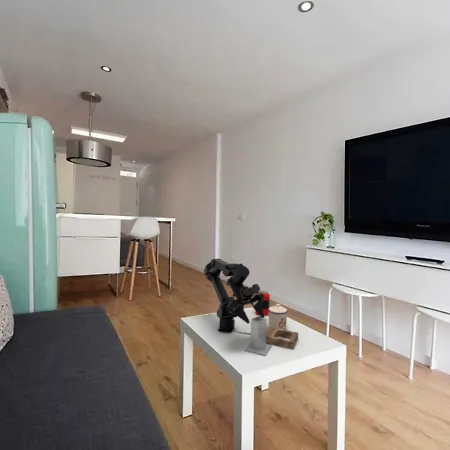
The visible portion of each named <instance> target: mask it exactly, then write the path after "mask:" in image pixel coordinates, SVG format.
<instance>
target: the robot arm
mask: <svg viewBox="0 0 450 450" xmlns="http://www.w3.org/2000/svg"><path fill="white" fill-rule="evenodd" d="M221 273H222V275H223V276H224V277H225V278H227V277H228V279H227V280H226V286H229V287H230V289H231V292H232V293H233V294H232V296H229V293H228V292H227V290H226V288H225V286H224V284H223V282H222V279H221V278H220V276H221ZM203 275H204V277H205V278H206V279H207V281H209V282H211V285H212V286H213V289H214V291H215V293H216V297H217V298H218V300H219V305H218V309H217V310H216V317H217V318H218V319H219V328H218V329H217V331H218V332H223V333H230V334H232V332H233V331H234V330H235V328H236V320H235V318H237V317H238V318H239V319H240V320H242V321H243V322H244V323H246V324H247V325H248V324H251V321H250V318H249V317H248V315H247V314H246V313H247V312H246V311H245V310H244V309H245V307H244V306H247V305H250V304H251V306H252V309H253V310H254V311H256V312H257V313H258V314H259V315H260V317H263V318H265V316H264V312H263V307H262V303H263V301H264V298H265V297H264V295H263V294H262V293H260V294H258V293H259V291H261V287H260V285H259V284H258V283H254V284H252V286H250V287H249V286H247V285H244V282H245V281H246V280H247V279H248V276H249V275H250V269H249V268H248V267H247V266H246V265H245V266H244V265H243V263H231V262H230V263H229V262H227V261H225V260H223V259H221V258H213V259H211V260H210V261H209V262H208V263H207V264H206V265H205V267H204V269H203ZM235 298H236V299H235ZM259 315H258V316H259Z"/></svg>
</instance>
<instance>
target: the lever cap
mask: <svg viewBox="0 0 450 450" xmlns="http://www.w3.org/2000/svg"><path fill="white" fill-rule="evenodd" d="M250 320H251V321H250V342H251V346H250V347H251V348H252V349H254V350H256V351H259V350H261V349H263V348H266V327H267V321H268V319H267V318H265V317H264V318H263V317H261V316H259V315H257V316H255V317H253V318H251V319H250Z"/></svg>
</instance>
